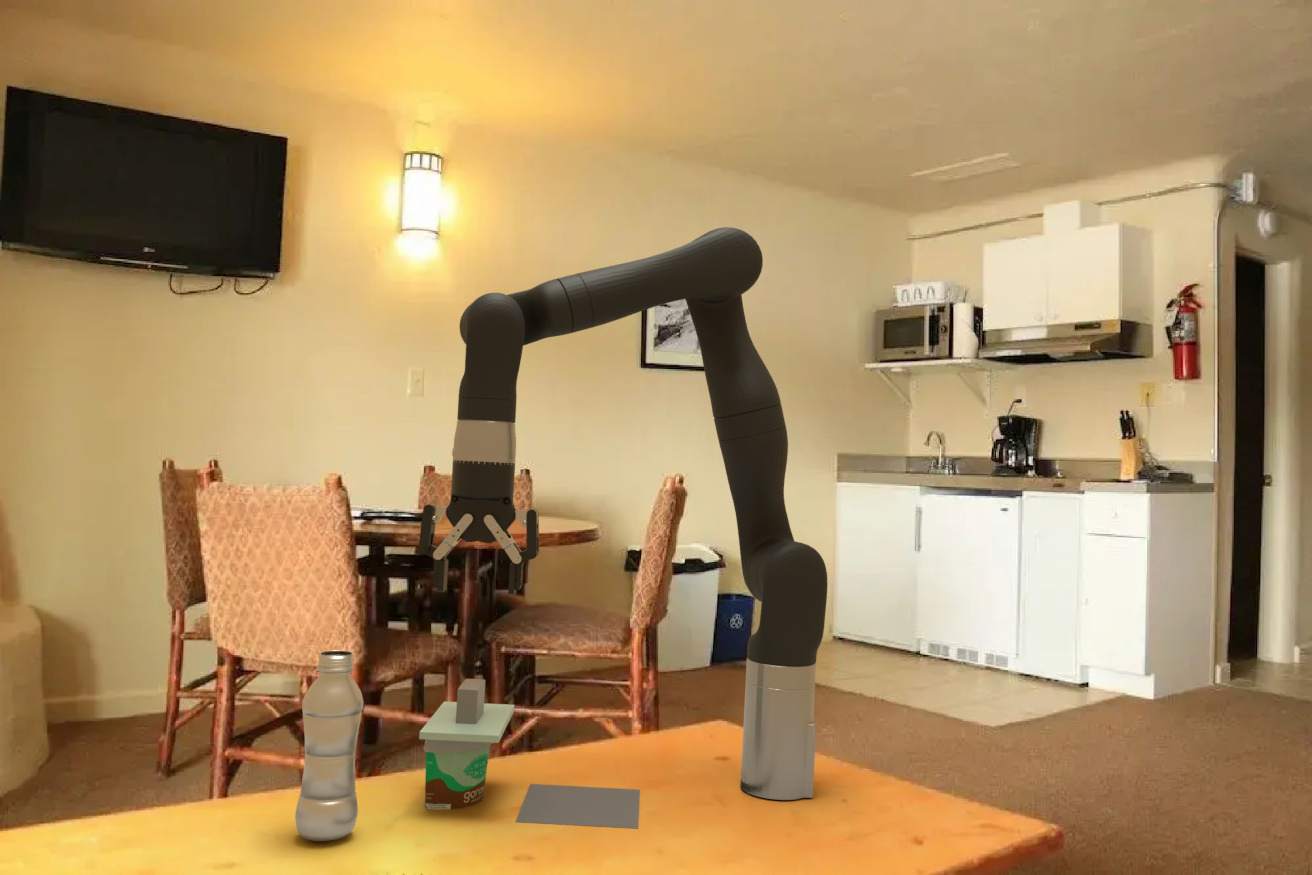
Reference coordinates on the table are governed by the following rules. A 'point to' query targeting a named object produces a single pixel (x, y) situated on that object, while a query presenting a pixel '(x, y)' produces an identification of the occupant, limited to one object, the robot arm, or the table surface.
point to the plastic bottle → (330, 750)
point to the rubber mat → (580, 806)
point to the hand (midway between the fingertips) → (477, 592)
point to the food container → (455, 773)
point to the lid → (468, 717)
